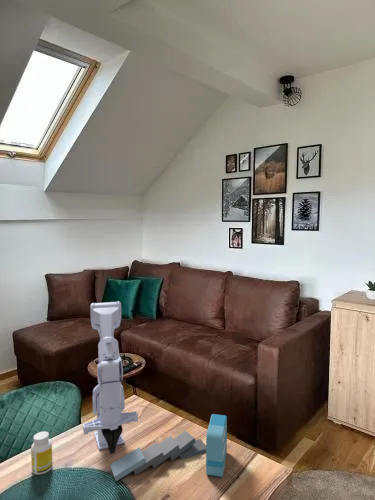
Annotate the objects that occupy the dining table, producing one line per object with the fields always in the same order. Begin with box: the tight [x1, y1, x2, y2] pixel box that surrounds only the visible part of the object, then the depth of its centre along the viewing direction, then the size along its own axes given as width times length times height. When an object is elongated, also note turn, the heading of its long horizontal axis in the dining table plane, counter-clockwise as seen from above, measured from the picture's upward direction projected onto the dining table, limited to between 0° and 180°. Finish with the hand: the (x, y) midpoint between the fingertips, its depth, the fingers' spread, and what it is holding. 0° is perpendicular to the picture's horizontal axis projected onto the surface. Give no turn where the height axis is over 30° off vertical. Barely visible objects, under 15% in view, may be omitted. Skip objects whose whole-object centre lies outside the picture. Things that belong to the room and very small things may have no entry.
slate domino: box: [109, 446, 146, 482], centre depth 96 cm, size 5×2×9 cm
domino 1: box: [132, 442, 164, 476], centre depth 98 cm, size 5×2×9 cm
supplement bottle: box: [30, 430, 53, 475], centre depth 97 cm, size 5×5×10 cm
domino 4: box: [178, 438, 206, 460], centre depth 105 cm, size 5×2×9 cm
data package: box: [205, 413, 228, 478], centre depth 98 cm, size 12×4×12 cm, turn 168°
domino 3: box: [168, 430, 196, 462], centre depth 104 cm, size 5×2×9 cm
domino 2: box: [150, 435, 180, 469], centre depth 101 cm, size 5×2×9 cm
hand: (111, 451), depth 94 cm, fingers closed
